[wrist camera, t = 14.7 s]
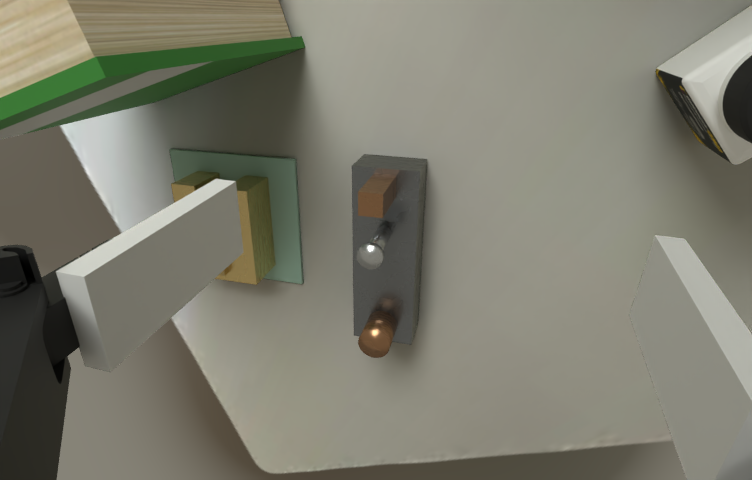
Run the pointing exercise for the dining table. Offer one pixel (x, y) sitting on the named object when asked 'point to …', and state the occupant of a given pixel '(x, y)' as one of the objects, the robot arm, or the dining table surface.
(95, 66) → the hardback book
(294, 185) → the mat
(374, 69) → the dining table surface
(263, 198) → the lever cap
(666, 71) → the medicine bottle
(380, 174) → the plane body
